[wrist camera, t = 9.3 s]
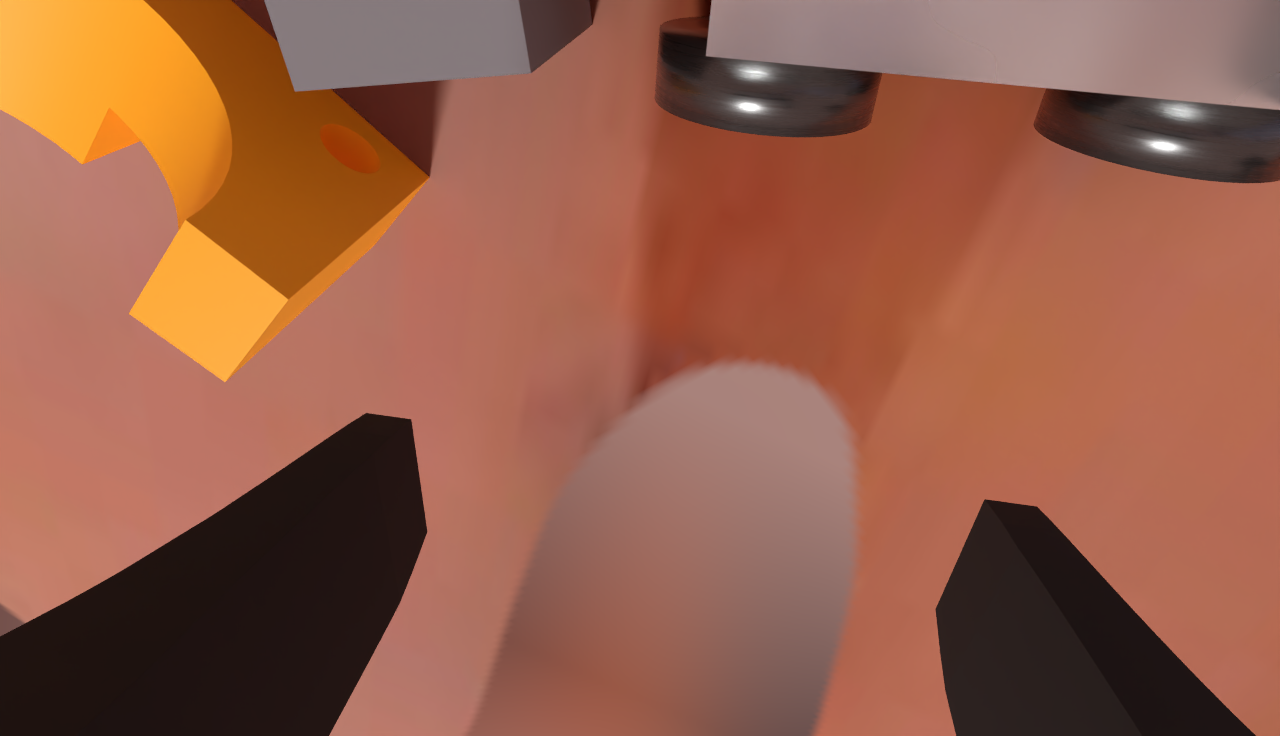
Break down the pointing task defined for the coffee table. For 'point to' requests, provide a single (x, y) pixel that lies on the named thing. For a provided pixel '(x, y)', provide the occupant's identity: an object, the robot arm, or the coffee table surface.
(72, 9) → the pipe clamp
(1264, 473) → the coffee table surface
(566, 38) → the block
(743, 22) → the trolley
